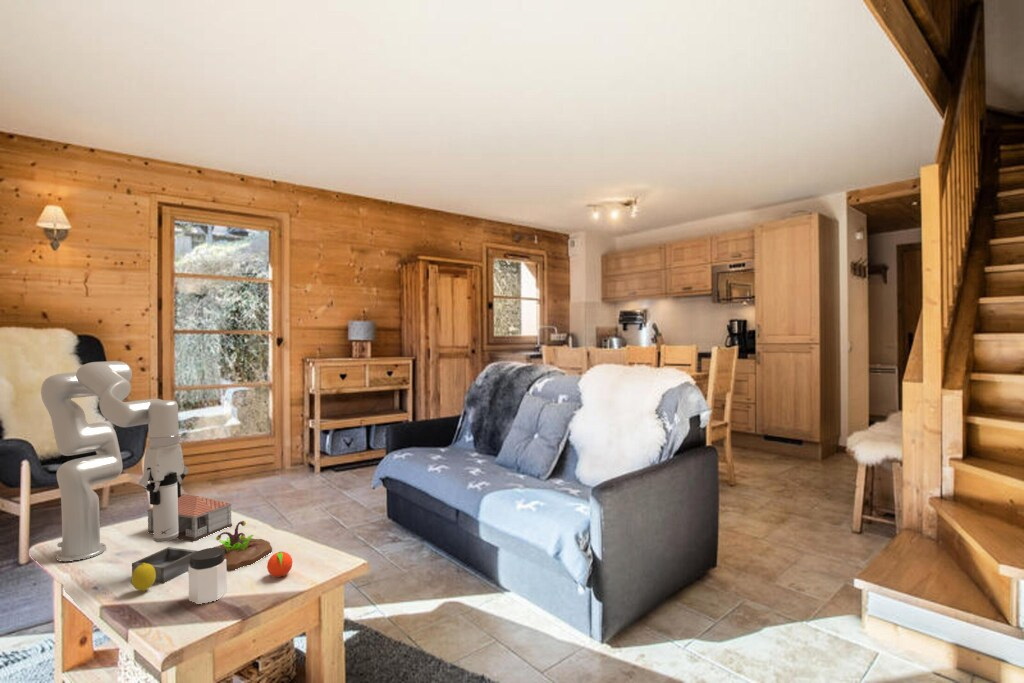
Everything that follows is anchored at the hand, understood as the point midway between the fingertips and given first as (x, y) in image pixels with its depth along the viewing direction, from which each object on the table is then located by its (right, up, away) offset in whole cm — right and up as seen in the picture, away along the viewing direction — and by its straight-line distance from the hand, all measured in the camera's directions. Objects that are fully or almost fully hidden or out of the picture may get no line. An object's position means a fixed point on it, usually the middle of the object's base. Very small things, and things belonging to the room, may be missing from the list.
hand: (165, 500), depth 156 cm
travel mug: (0, -12, 0) cm, 12 cm away
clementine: (+36, -22, -3) cm, 43 cm away
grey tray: (0, -22, 0) cm, 22 cm away
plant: (+16, -22, +11) cm, 30 cm away
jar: (+22, -22, -15) cm, 34 cm away
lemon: (+2, -22, -12) cm, 25 cm away
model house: (-14, -22, +34) cm, 43 cm away
